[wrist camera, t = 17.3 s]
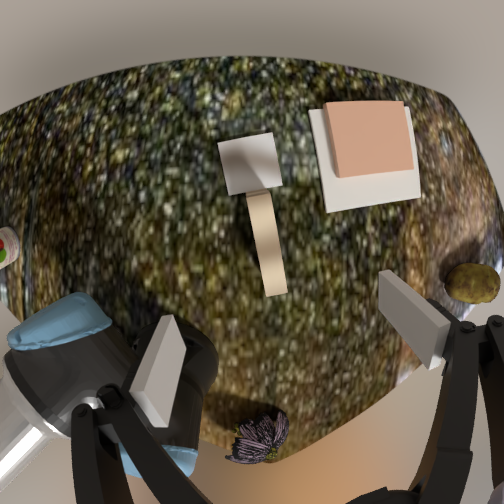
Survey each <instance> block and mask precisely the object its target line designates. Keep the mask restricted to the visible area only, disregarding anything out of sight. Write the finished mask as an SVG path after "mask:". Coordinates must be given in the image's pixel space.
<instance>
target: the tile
mask: <svg viewBox="0 0 504 504" xmlns="http://www.w3.org/2000/svg"><path fill="white" fill-rule="evenodd" d="M323 108H324V113H325V118H326V122H327V127H328V132H329V138H330V143H331V148H332V154H333V160H334V166H335V172H336V178H345V177H353V176H360V175H368V174H376V173H384V172H393V171H403V170H413V169H414V164H413V156H412V149H411V142H410V136H409V130H408V124H407V119H406V114H405V109H404V104H403V101H346V102H328V103H325V104H323Z"/></svg>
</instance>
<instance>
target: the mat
mask: <svg viewBox="0 0 504 504" xmlns="http://www.w3.org/2000/svg"><path fill="white" fill-rule="evenodd" d="M404 109H405V114H406V119H407V124H408V130H409V136H410V142H411V149H412V156H413V164H414V169H413V170H403V171H393V172H384V173H376V174H368V175H360V176H353V177H345V178H336V172H335V166H334V160H333V154H332V148H331V143H330V138H329V132H328V127H327V122H326V118H325V113H324V109H315V110H309V111H308V113H309V118H310V123H311V128H312V133H313V138H314V143H315V148H316V154H317V159H318V165H319V171H320V177H321V183H322V190H323V196H324V203H325V211H326V213H329V212H335V211H340V210H346V209H352V208H358V207H363V206H369V205H375V204H381V203H387V202H394V201H400V200H406V199H412V198H419V197H421V193H420V180H419V170H418V161H417V153H416V145H415V139H414V133H413V127H412V121H411V116H410V111H409V107H404Z"/></svg>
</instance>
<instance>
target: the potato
mask: <svg viewBox="0 0 504 504" xmlns="http://www.w3.org/2000/svg"><path fill="white" fill-rule="evenodd" d="M444 288H445V290H446V292H447V294H448V295H449V296H450V297H452V298H454V299H457V300H460V301H463V302H467V303H471V304H479V303H481V302H484V303H487V302H491V301H492V300H493V299H495V297H496V296H497V294H498V292H499V289H500V277H499V275H498V273H497V272H496V271H495V270H494V269H493V268H492V267H490V266H487V265H483V264H474V263H464V264H461V265H458V266H457V267H455V268H454V269H453V270H452V271H451V272H450V273H449V274H448V276H447V277H446V280H445V285H444Z"/></svg>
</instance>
